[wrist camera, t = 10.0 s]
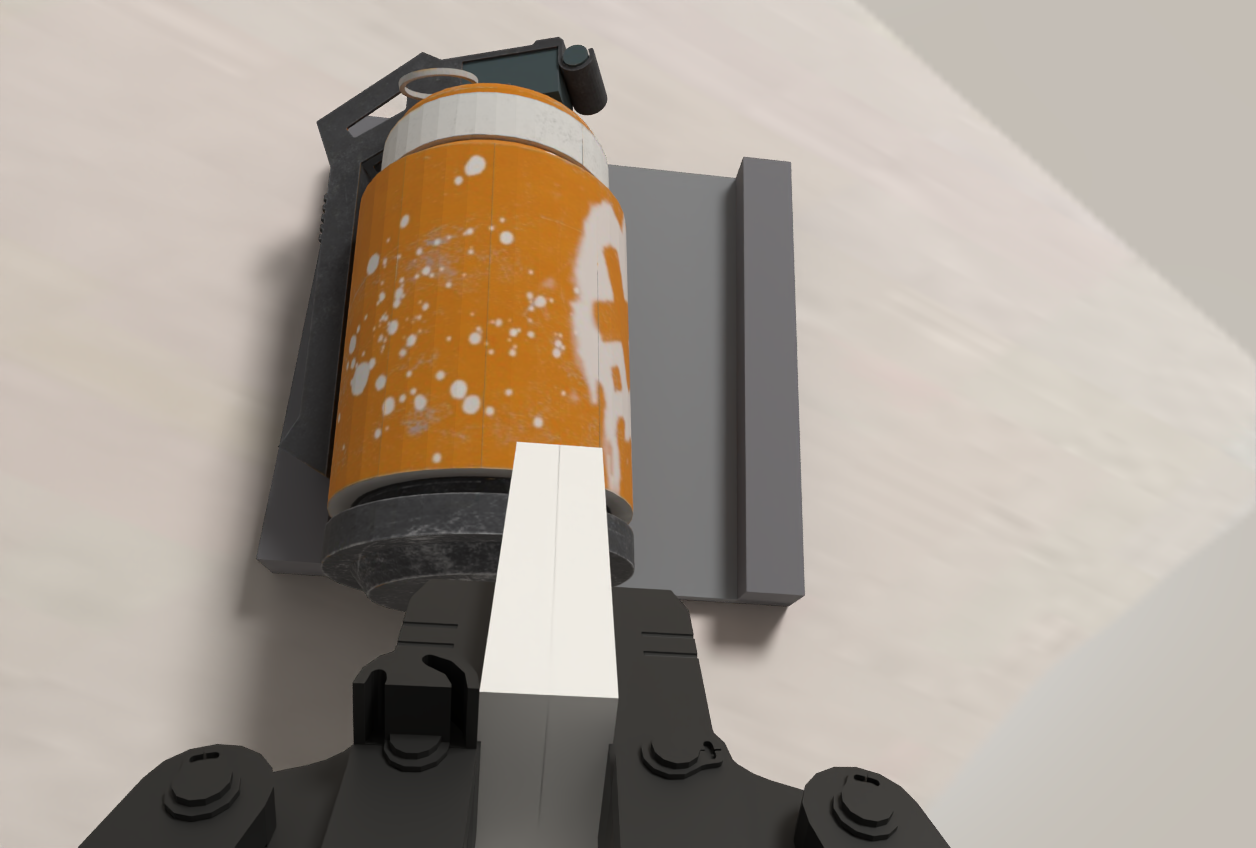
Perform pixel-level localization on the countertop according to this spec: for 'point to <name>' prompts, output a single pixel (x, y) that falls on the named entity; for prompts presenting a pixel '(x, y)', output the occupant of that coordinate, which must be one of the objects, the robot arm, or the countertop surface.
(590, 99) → the canister
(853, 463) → the countertop surface
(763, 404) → the tray
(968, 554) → the countertop surface
